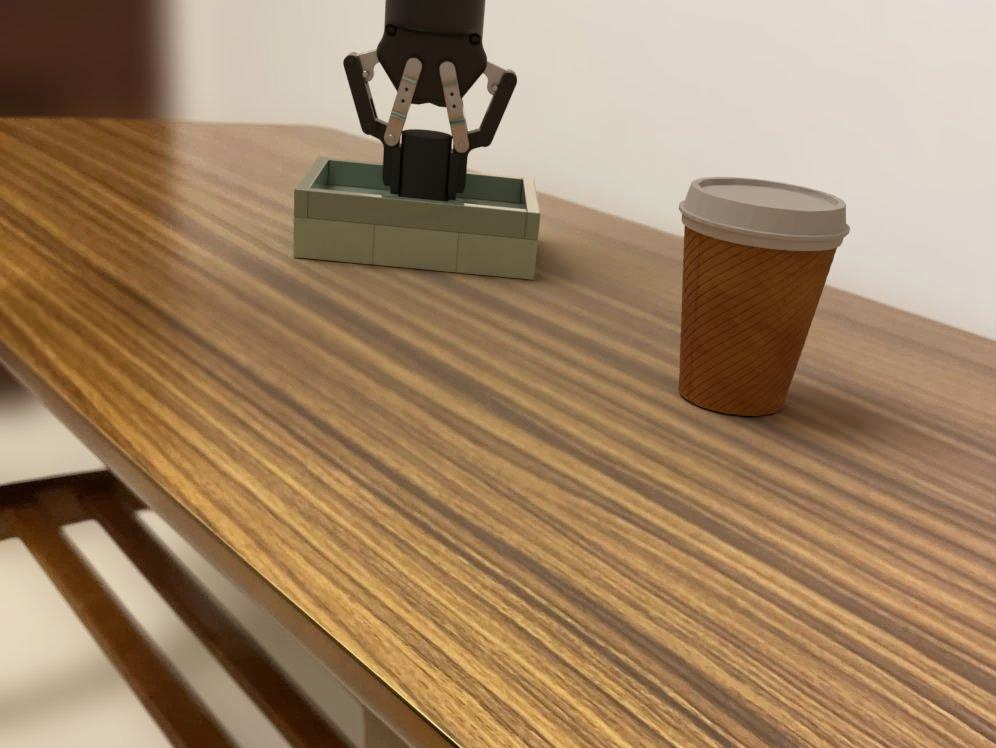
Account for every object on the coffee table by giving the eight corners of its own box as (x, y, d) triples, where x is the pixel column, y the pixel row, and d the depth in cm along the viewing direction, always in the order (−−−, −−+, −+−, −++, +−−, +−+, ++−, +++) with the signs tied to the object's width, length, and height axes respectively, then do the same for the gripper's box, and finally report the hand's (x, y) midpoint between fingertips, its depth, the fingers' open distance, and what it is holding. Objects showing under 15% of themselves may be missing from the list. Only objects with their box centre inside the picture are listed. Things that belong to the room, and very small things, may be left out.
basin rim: (293, 216, 90) (294, 189, 89) (317, 180, 103) (317, 156, 102) (537, 240, 92) (540, 213, 91) (531, 202, 104) (534, 178, 103)
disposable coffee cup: (788, 376, 78) (827, 184, 73) (830, 433, 70) (877, 219, 64) (640, 365, 77) (669, 169, 72) (664, 420, 69) (699, 203, 63)
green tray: (293, 257, 92) (293, 216, 90) (317, 215, 105) (317, 179, 103) (533, 280, 93) (537, 240, 92) (527, 236, 106) (531, 200, 105)
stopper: (396, 206, 98) (400, 135, 96) (399, 196, 102) (403, 127, 99) (446, 211, 98) (451, 140, 96) (448, 201, 102) (453, 132, 99)
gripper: (336, -48, 88) (329, 196, 96) (534, -25, 89) (512, 213, 97) (347, -50, 95) (340, 178, 102) (530, -29, 96) (510, 195, 104)
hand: (423, 194), depth 100 cm, fingers closed on stopper, 4 cm apart
